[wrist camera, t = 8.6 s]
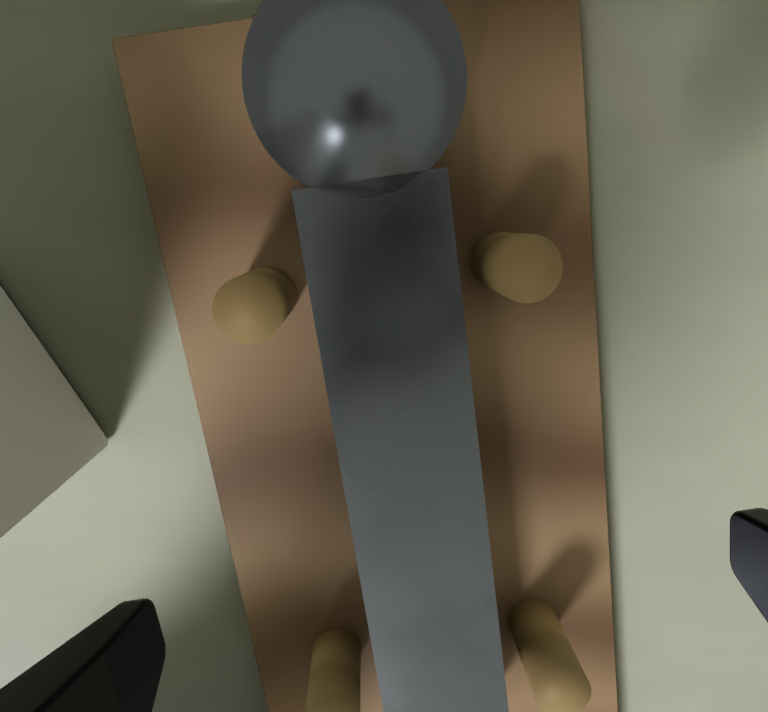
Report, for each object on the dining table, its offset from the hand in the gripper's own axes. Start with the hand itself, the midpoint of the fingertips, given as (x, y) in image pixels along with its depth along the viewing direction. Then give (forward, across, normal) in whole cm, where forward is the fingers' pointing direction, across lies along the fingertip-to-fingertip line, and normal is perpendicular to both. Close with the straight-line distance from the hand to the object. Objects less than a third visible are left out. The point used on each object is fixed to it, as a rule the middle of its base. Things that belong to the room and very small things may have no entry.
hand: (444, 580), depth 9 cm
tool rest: (+10, 0, +2) cm, 10 cm away
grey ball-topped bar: (+8, 0, 0) cm, 8 cm away
